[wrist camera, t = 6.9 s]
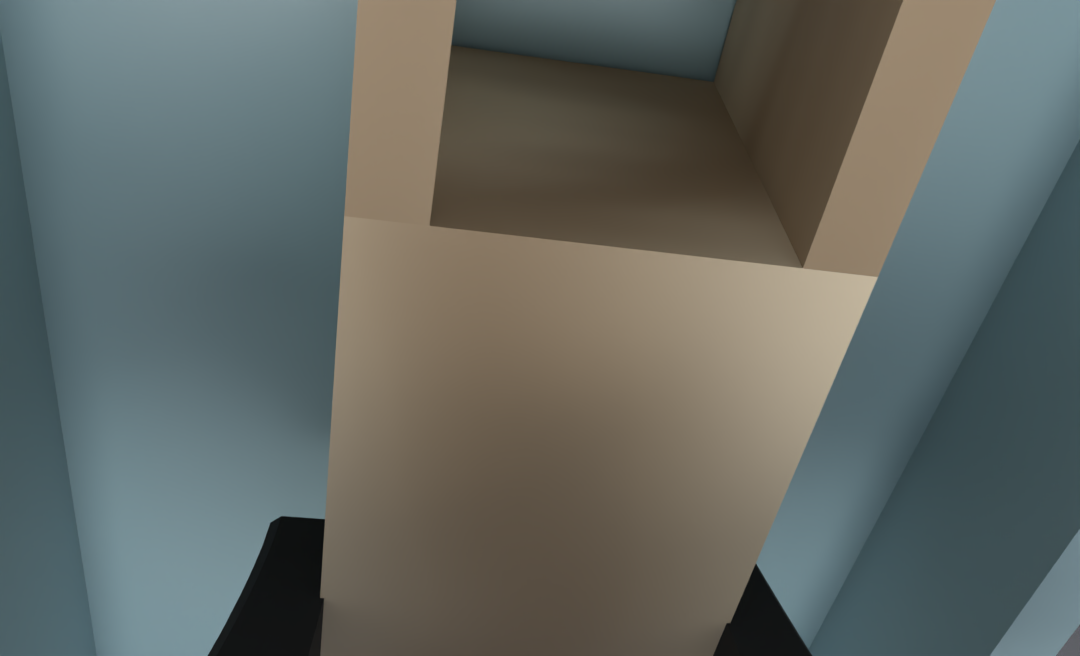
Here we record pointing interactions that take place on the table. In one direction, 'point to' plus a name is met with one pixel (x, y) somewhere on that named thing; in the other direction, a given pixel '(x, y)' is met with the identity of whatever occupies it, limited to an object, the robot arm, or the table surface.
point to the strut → (602, 317)
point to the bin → (312, 314)
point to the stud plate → (1071, 645)
